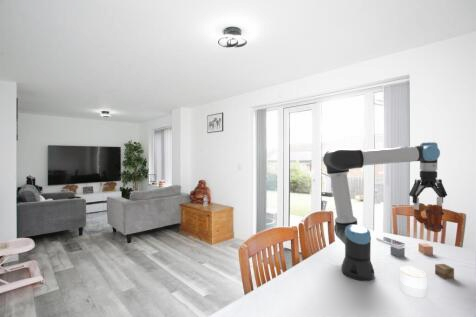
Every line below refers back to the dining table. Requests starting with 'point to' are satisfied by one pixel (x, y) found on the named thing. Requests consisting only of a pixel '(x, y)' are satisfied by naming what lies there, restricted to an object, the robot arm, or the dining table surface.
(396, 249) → the slate block
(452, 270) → the walnut block
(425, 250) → the terracotta block
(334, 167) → the robot arm
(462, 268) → the dining table surface
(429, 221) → the mug
